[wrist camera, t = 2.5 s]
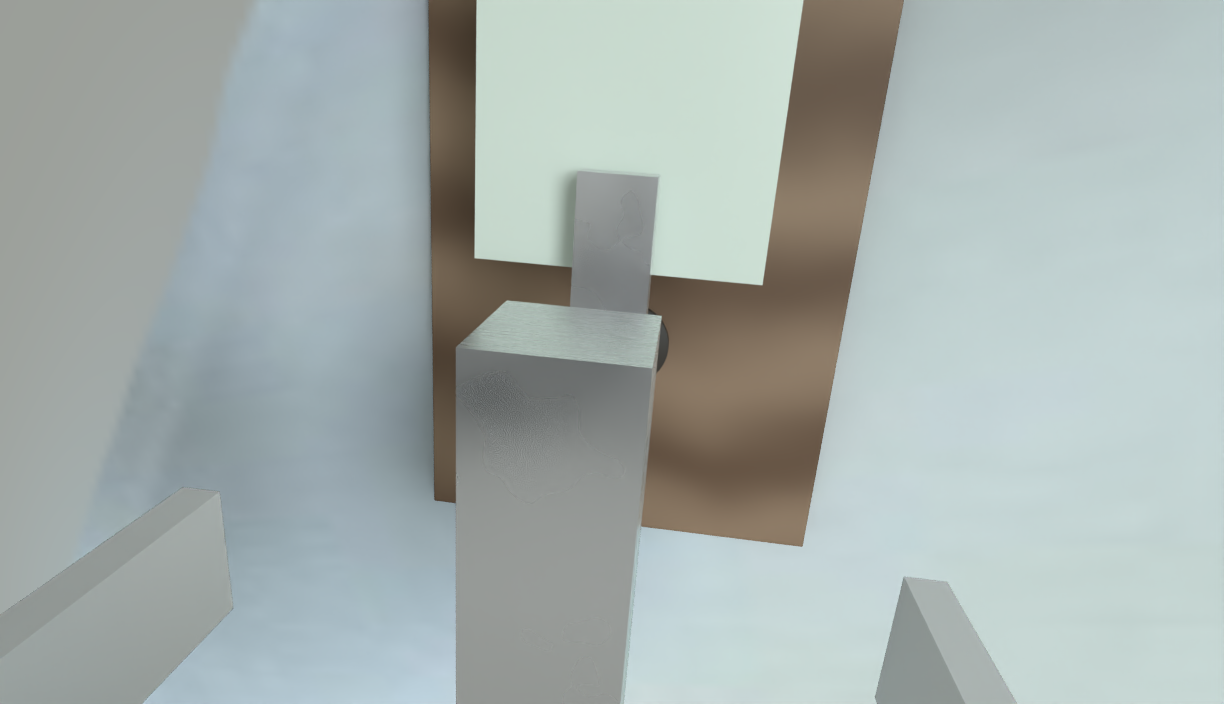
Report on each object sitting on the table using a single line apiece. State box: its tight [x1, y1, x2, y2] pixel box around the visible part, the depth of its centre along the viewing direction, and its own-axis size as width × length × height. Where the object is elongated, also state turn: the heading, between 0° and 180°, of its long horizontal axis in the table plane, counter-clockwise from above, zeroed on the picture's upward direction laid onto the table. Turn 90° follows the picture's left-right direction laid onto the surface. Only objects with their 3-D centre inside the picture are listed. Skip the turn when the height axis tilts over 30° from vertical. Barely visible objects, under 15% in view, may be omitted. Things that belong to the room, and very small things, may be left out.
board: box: [429, 0, 904, 547], centre depth 27 cm, size 24×16×2 cm
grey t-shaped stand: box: [456, 168, 662, 704], centre depth 19 cm, size 12×3×16 cm, turn 176°
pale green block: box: [475, 0, 803, 285], centre depth 21 cm, size 10×8×8 cm
